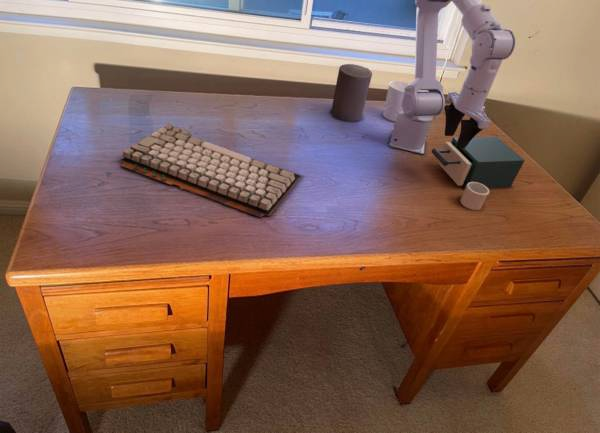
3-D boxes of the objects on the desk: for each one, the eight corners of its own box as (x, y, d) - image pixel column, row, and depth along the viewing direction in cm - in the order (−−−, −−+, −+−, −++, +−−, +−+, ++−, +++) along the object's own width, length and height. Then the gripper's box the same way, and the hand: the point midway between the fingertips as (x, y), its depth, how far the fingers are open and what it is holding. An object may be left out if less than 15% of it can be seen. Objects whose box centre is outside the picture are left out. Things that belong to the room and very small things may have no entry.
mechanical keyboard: (301, 176, 102) (302, 164, 100) (266, 222, 88) (268, 209, 86) (164, 131, 110) (163, 119, 108) (113, 166, 96) (110, 153, 94)
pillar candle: (324, 111, 131) (332, 62, 122) (344, 104, 137) (354, 57, 128) (348, 124, 126) (359, 74, 117) (368, 116, 132) (380, 68, 123)
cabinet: (465, 189, 107) (478, 162, 102) (442, 164, 116) (452, 137, 111) (510, 187, 111) (525, 160, 106) (484, 162, 120) (497, 136, 114)
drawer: (440, 186, 105) (449, 164, 101) (421, 163, 113) (428, 142, 109) (500, 183, 110) (510, 162, 106) (477, 161, 118) (486, 140, 114)
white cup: (407, 115, 137) (417, 85, 131) (404, 125, 131) (413, 94, 125) (383, 108, 138) (391, 78, 132) (378, 118, 132) (387, 87, 126)
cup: (460, 206, 101) (467, 191, 98) (459, 194, 105) (466, 179, 102) (482, 212, 101) (490, 197, 98) (481, 200, 105) (488, 184, 102)
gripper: (511, 101, 91) (485, 156, 100) (473, 74, 102) (453, 126, 110) (483, 101, 89) (459, 157, 98) (447, 73, 100) (429, 126, 108)
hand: (454, 141), depth 104 cm, fingers open, 5 cm apart
